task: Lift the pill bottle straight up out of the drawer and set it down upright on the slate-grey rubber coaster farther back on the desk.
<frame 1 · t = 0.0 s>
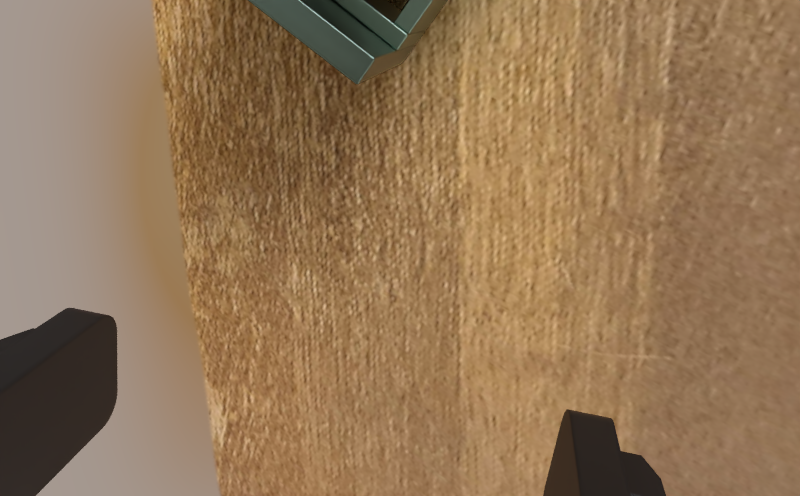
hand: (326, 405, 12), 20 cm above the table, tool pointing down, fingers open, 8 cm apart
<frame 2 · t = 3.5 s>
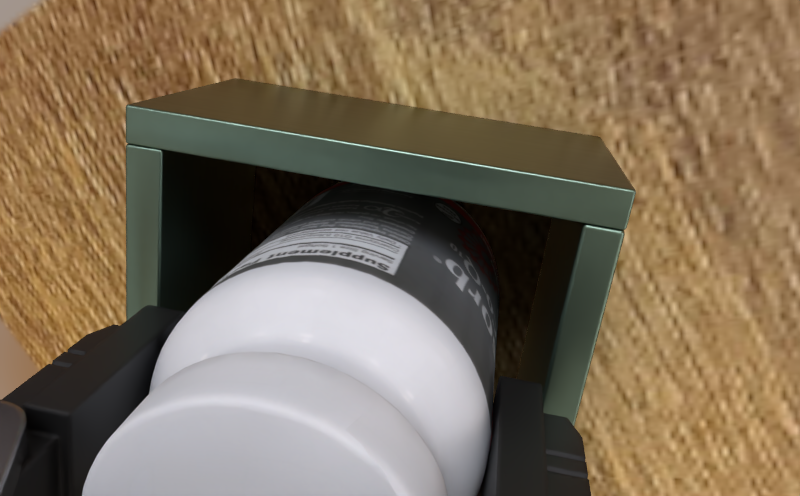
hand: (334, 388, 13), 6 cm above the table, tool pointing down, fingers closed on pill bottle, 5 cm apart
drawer: (388, 277, 18), on the table
pill bottle: (389, 275, 18), resting in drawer, touching gripper
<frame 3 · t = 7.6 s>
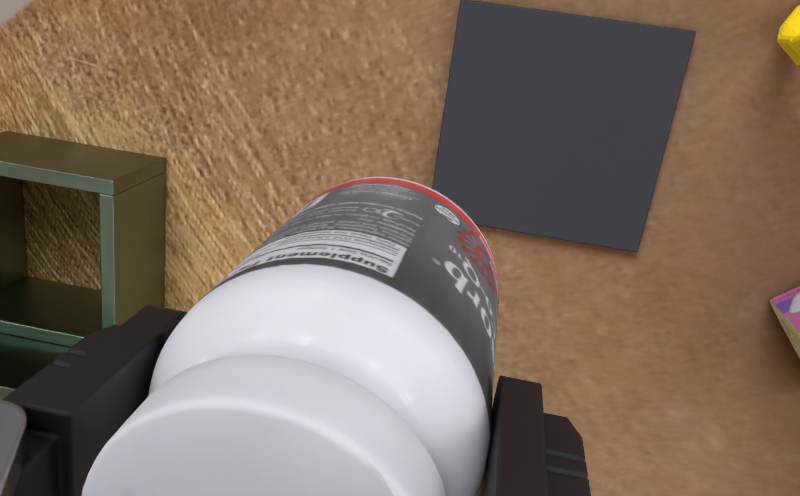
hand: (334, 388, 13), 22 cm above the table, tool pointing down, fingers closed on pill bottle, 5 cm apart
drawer: (87, 224, 37), on the table
pill bottle: (389, 276, 18), point 16 cm above the table, touching gripper
coaster: (552, 129, 32), on the table
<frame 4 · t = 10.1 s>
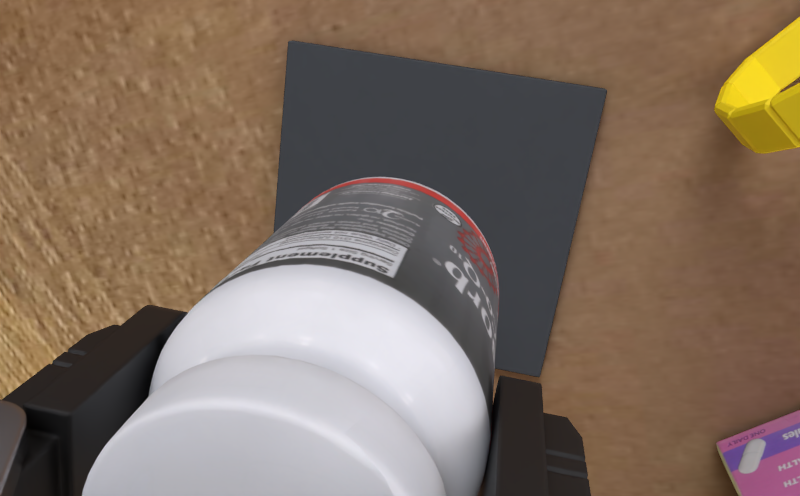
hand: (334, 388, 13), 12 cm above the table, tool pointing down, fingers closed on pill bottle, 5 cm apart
pill bottle: (389, 276, 18), point 6 cm above the table, touching gripper
watch: (794, 45, 20), on the table
coaster: (421, 214, 23), on the table
when the fingers open (6 cm above the table, at t = 11.9 s): pill bottle stays where it is, resting on coaster.
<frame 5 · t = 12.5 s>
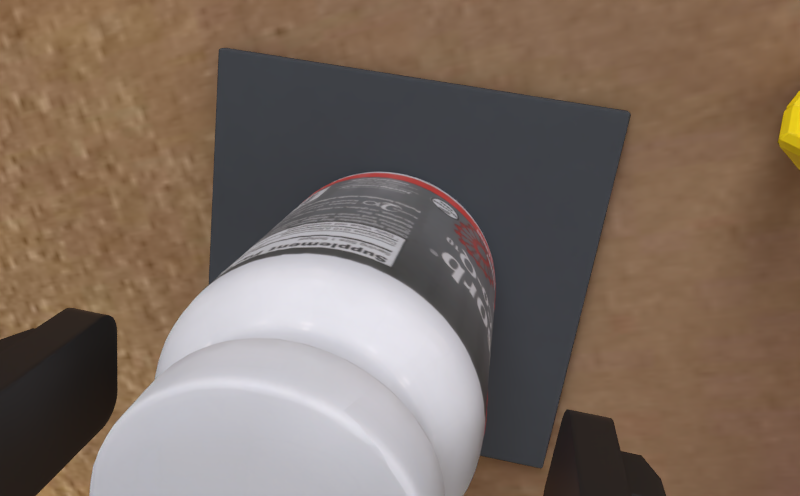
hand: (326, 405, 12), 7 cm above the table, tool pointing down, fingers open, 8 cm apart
pill bottle: (388, 269, 18), resting on coaster
coaster: (393, 267, 18), on the table
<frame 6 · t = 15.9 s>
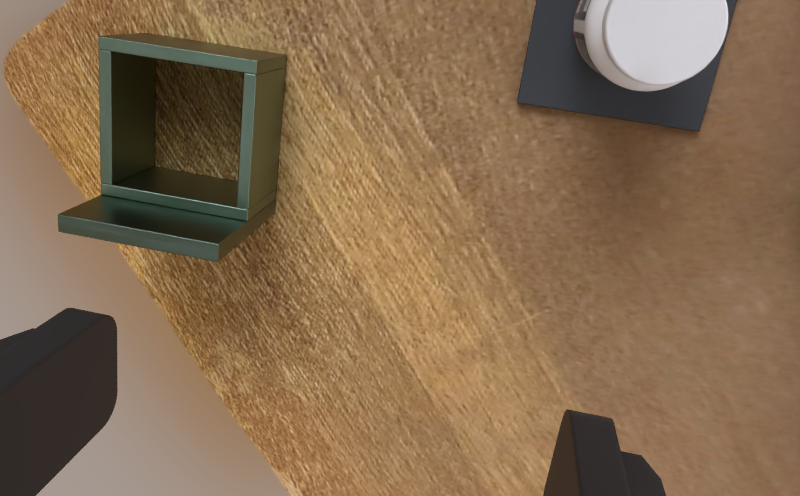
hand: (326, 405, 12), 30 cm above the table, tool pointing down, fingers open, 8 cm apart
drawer: (212, 117, 42), on the table
pill bottle: (627, 22, 37), resting on coaster
coaster: (628, 22, 37), on the table
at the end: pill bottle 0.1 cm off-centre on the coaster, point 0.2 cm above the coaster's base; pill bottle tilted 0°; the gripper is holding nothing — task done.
